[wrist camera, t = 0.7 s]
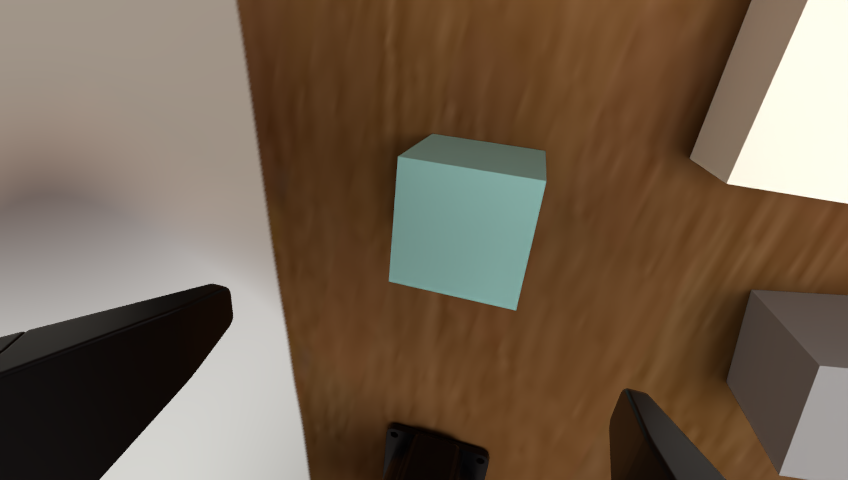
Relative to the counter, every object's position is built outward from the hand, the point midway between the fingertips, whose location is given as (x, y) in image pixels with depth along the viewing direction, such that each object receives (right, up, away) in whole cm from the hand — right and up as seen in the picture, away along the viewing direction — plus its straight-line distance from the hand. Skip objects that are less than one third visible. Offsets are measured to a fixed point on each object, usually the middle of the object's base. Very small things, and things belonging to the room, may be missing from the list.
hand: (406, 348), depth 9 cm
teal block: (+3, +4, +10) cm, 11 cm away
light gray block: (+17, -2, +9) cm, 19 cm away
